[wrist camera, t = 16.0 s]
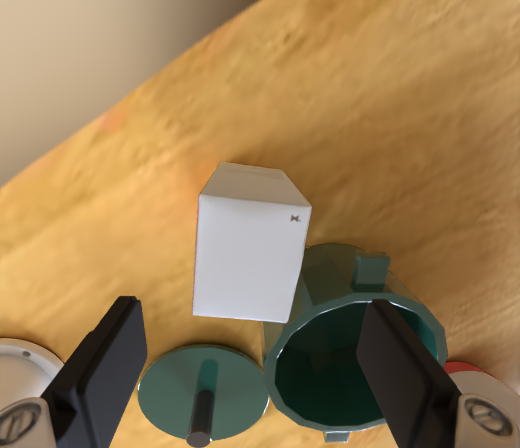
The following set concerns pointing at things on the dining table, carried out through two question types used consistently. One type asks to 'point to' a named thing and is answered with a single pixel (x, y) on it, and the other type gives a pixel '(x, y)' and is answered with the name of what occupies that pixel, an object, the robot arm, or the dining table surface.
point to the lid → (203, 393)
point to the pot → (336, 340)
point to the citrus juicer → (484, 386)
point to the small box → (248, 244)
